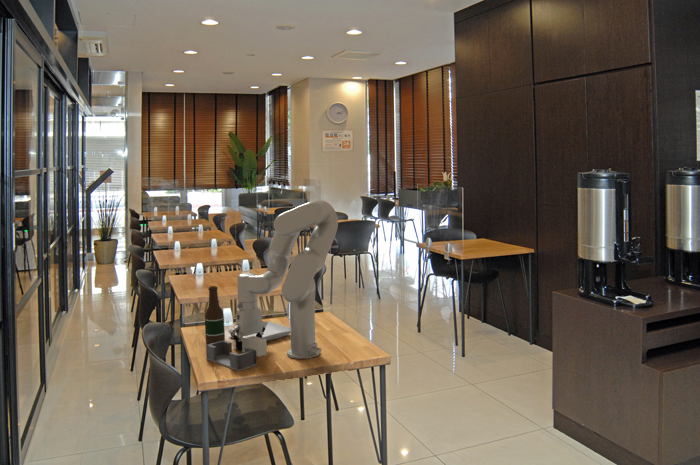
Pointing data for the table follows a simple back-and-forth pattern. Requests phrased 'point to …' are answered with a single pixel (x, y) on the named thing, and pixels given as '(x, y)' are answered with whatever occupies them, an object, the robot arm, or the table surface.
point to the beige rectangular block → (253, 344)
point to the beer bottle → (214, 319)
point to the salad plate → (273, 331)
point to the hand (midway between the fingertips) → (249, 347)
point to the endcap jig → (230, 356)
